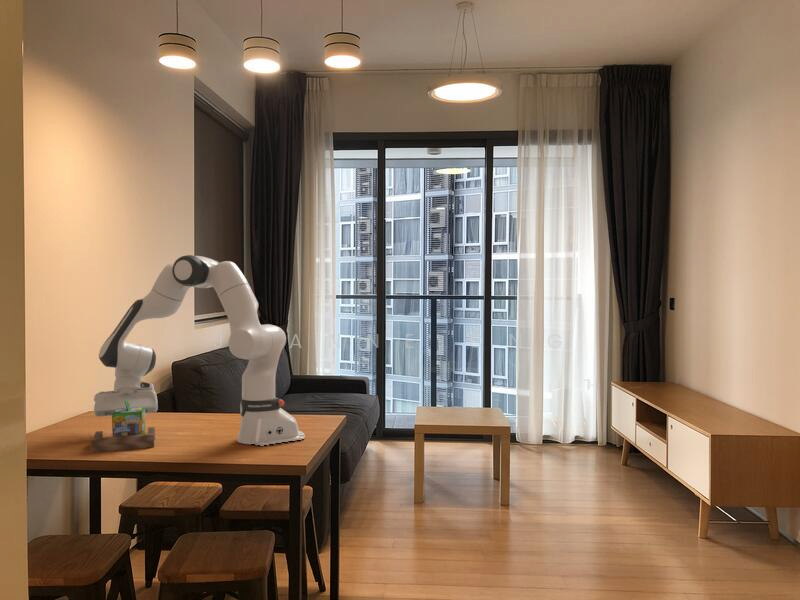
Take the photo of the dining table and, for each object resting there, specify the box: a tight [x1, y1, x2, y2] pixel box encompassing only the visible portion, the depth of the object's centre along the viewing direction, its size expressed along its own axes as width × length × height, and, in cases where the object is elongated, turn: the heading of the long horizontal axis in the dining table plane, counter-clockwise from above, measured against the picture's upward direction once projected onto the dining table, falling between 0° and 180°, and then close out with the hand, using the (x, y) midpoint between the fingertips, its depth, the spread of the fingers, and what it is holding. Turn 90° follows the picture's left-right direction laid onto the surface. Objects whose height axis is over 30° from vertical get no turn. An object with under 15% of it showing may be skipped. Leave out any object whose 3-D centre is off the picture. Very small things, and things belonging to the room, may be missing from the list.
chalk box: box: [111, 399, 147, 437], centre depth 196 cm, size 9×9×15 cm
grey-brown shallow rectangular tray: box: [91, 426, 156, 453], centre depth 194 cm, size 18×12×4 cm, turn 111°
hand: (125, 423), depth 202 cm, fingers closed
